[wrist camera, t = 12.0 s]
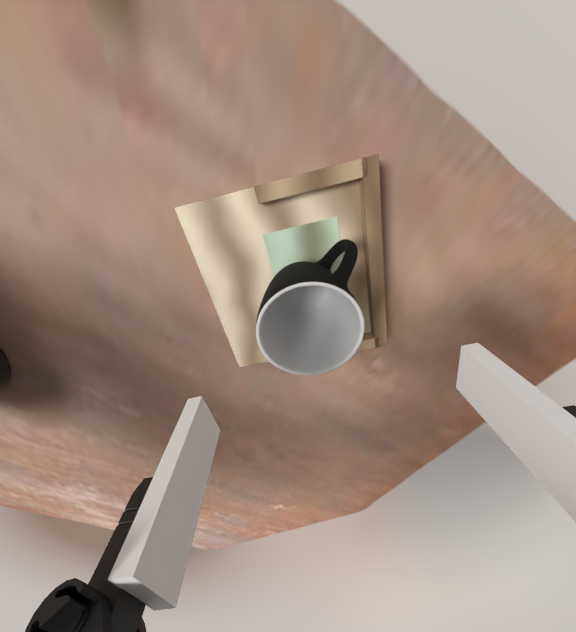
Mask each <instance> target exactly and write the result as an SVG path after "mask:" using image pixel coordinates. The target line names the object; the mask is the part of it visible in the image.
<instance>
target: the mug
mask: <svg viewBox="0 0 576 632" xmlns="http://www.w3.org/2000/svg"><path fill="white" fill-rule="evenodd" d="M344 251H345V253H344V256H343V259H342V261H341V263H340V265H339V267H338V268H337V270H336V271H335V272H334V273H332V272H331V267H332V264H333V263H334V261H335V260H336V259H337V258H338V257H339V256H340V255H341V254H342V253H343V252H344ZM357 257H358V249H357V246H356V244H355V243H354V242H353V241H351V240H348V239H343V240H340V241H339V242H337V243H336V244H335V245H334V246H333V247H332V248H331V249H330V250H329V251H328V252H327V253H326V254H325V255H324V257H323V258H322V259H321V260H319V261H318V262H307V261H301V262H295V263H292V264H289V265H287V266H286V267H284V268H282V269H281V270H280V271H279V272H278V273H277V274H276V275H275V276H274V278H273V279H272V281H271V282H270V284H269V286H268V287H267V289H266V292H265V294H264V296H263V299H262V301H261V304H260V308H259V311H258V315H257V320H256V339H257V343H258V346H259V348H260V350H261V352H262V353H263V355H264V356H265V357H266V358H267V360H268V361H270V362H271V363H272V364H273V365H274V366H276V367H278V368H279V369H281V370H283V371H286V372H289V373H292V374H297V375H318V374H323V373H326V372H329V371H332V370H334V369H336V368H338V367H340V366H341V365H343V364H344V363H346V362H347V361H348V360H349V359H350V358H351V357H352V356H353V355H354V354H355V352H356V351H357V350H358V348H359V346H360V344H361V342H362V339H363V336H364V329H365V323H364V316H363V313H362V310H361V308H360V306H359V304H358V302H357V301H356V299H355V297H354V296H353V295H352V293H351V292H350V291H349V289H348V286H347V284H348V280H349V277H350V275H351V273H352V271H353V269H354V266H355V264H356V261H357Z"/></svg>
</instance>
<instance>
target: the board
mask: <svg viewBox="0 0 576 632" xmlns="http://www.w3.org/2000/svg"><path fill="white" fill-rule="evenodd" d="M175 210H176V213H177V215H178V218H179V220H180V222H181V225H182V227H183V230H184V232H185V235H186V237H187V240H188V242H189V245H190V247H191V249H192V252H193V254H194V257H195V259H196V262H197V264H198V267H199V269H200V272H201V274H202V276H203V279H204V281H205V284H206V286H207V289H208V291H209V294H210V296H211V298H212V301H213V303H214V306H215V308H216V311H217V313H218V316H219V318H220V321H221V323H222V325H223V328H224V330H225V333H226V335H227V338H228V340H229V343H230V345H231V348H232V350H233V352H234V355H235V357H236V360H237V362H238V365H239V367H243V366H248V365H253V364H258V363H263V362H268V360H267V358H266V357H265V356H264V355H263V353H262V352H261V350H260V348H259V346H258V343H257V339H256V320H257V315H258V311H259V308H260V304H261V301H262V299H263V296H264V294H265V292H266V289H267V287H268V286H269V284H270V282H271V281H272V279H273V278H274V276H275V275H276V274H277V273H278V272H279V271H280V270H281V269H282V268H284V267H286V266H287V265H289V264H292V263H295V262H301V261H307V262H318V261H319V260H321V259H322V258H323V257H324V255H325V254H326V253H327V252H328V251H329V250H330V249H331V248H332V247H333V246H334V245H335V244H336V243H337V242H339V241H340V240H343V239H348V240H351V241H353V242H354V243H355V244H356V246H357V249H358V257H357V261H356V264H355V266H354V269H353V271H352V273H351V275H350V277H349V280H348V284H347V286H348V289H349V291H350V292H351V293H352V295H353V296H354V297H355V299H356V301H357V302H358V304H359V306H360V308H361V310H362V313H363V316H364V323H365V329H364V336H363V339H362V342H361V344H360V346H359V348H358V350H357V351H362V350H367V349H372V348H377V347H382V346H387V329H386V307H385V285H384V263H383V241H382V219H381V197H380V175H379V154H376V155H373V156H369V157H365V158H361V159H357V160H354V161H350V162H346V163H342V164H338V165H334V166H331V167H327V168H323V169H319V170H315V171H312V172H308V173H304V174H300V175H296V176H292V177H289V178H285V179H281V180H277V181H273V182H270V183H266V184H262V185H258V186H254V187H253V188H249V189H245V190H242V191H238V192H234V193H230V194H226V195H223V196H219V197H215V198H211V199H207V200H203V201H200V202H196V203H192V204H188V205H184V206H180V207H177V208H175ZM344 253H345V251H344V252H343V253H342V254H341V255H340V256H339V257H338V258H337V259H336V260H335V261H334V263H333V264H332V267H331V272H332V273H334V272H335V271H336V270H337V268H338V267H339V265H340V263H341V261H342V259H343V256H344Z"/></svg>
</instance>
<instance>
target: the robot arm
mask: <svg viewBox="0 0 576 632" xmlns="http://www.w3.org/2000/svg"><path fill="white" fill-rule="evenodd" d="M9 378H10V369H9V365H8V362H7V360H6V358H5V356H4V355H3V353H2V352H1V351H0V389H2V388H3V387H4V386H5V385H6V384H7V383H8V381H9ZM456 388H457V390H458V391H459V392H460V393H461V394H462V395H463V396H464V397H465V399H466V400H467V401H468V402H469V403H470V404H471V405H472V406H473V407H474V409H475V410H476V411H477V412H478V413H479V414H480V415H481V416H482V418H483V419H484V420H485V421H486V422H487V423H488V424H489V425H490V427H491V428H492V429H493V430H494V431H495V432H496V433H497V434H498V435H499V437H500V438H501V439H502V440H503V441H504V442H505V443H506V444H507V446H508V447H509V448H510V449H511V450H512V451H513V452H514V453H515V455H516V456H517V457H518V458H519V459H520V460H521V461H522V462H523V464H524V465H525V466H526V467H527V468H528V469H529V470H530V471H531V473H532V474H533V475H534V476H535V477H536V478H537V479H538V480H539V481H540V483H541V484H542V485H543V486H544V487H545V488H546V489H547V491H548V492H550V494H551V495H552V496H553V497H554V498H555V499H556V501H557V502H558V503H559V504H560V505H561V506H562V507H563V508H564V510H565V511H566V512H567V513H568V514H569V515H570V516H571V517H572V519H573V520H574V521H575V522H576V406H567V407H561V406H560V405H558V404H557V403H556V402H554V401H553V400H552V399H551V398H549V397H548V396H547V395H545V394H544V393H543V392H541V391H540V390H539V389H538V388H536V387H535V386H534V385H532V384H531V383H530V382H528V381H527V380H526V379H525V378H523V377H522V376H521V375H519V374H518V373H517V372H515V371H514V370H513V369H512V368H510V367H509V366H508V365H506V364H505V363H504V362H502V361H501V360H500V359H499V358H497V357H496V356H495V355H493V354H492V353H491V352H489V351H488V350H487V349H486V348H484V347H483V346H482V345H480V344H479V343H474V344H468V345H463V346H461V352H460V360H459V368H458V376H457V383H456ZM219 434H220V429H219V427H218V425H217V423H216V421H215V419H214V418H213V416H212V414H211V412H210V410H209V408H208V406H207V405H206V403H205V401H204V399H203V397H202V396H200V397H195V398H190V399H188V400H187V402H186V405H185V407H184V409H183V411H182V414H181V416H180V418H179V420H178V423H177V425H176V427H175V429H174V432H173V434H172V436H171V438H170V441H169V443H168V445H167V447H166V450H165V452H164V454H163V456H162V459H161V461H160V463H159V465H158V468H157V470H156V472H155V474H154V477H150V478H144V480H143V481H142V482H141V483H140V485H139V486H138V487H137V489H136V490H135V491H134V492H133V494H132V496H131V498H130V500H129V502H128V504H127V506H126V508H125V512H123V515H122V517H121V519H120V521H119V525H118V526H117V527H116V529H115V531H114V533H113V535H112V537H111V539H110V541H109V543H108V545H107V547H106V549H105V552H104V554H103V556H102V557H101V560H100V562H99V564H98V566H97V568H96V570H95V572H94V574H93V576H92V578H91V580H90V582H89V583H88V585H87V584H86V583H84V582H82V581H80V580H78V579H76V578H74V579H71V580H67V581H65V582H64V583H63V584H61V585H59V586H58V587H57V588H55V589H54V590H53V591H52V592H51V593H50V594H49V595H48V596H47V597H46V599H44V601H43V602H42V604H41V605H40V606H39V608H38V609H37V610H36V612H35V613H34V615H33V617H32V619H31V620H30V622H29V624H28V626H27V628H26V631H25V632H146V628H145V623H144V621H143V619H142V614H143V611H144V608H145V605H147V606H148V607H150V608H151V609H153V610H161V609H170V608H176V605H177V600H178V597H179V593H180V589H181V584H182V581H183V577H184V573H185V569H186V565H187V561H188V557H189V553H190V549H191V545H192V541H193V537H194V533H195V529H196V525H197V521H198V517H199V513H200V509H201V505H202V502H203V498H204V494H205V490H206V486H207V482H208V478H209V474H210V470H211V466H212V462H213V458H214V454H215V450H216V446H217V442H218V438H219Z"/></svg>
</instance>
